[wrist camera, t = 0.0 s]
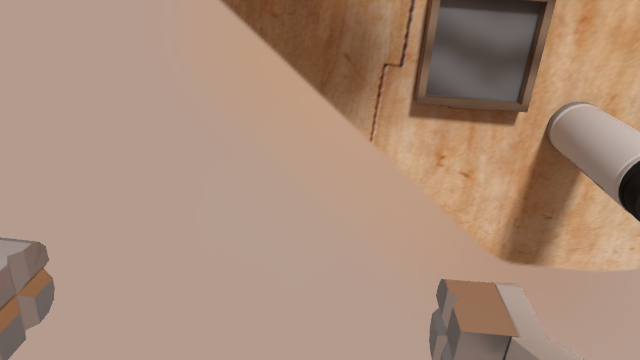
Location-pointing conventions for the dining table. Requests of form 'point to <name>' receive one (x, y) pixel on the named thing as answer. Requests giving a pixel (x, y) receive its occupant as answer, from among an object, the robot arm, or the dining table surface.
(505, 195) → the dining table surface
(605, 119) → the travel mug
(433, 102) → the square tray
